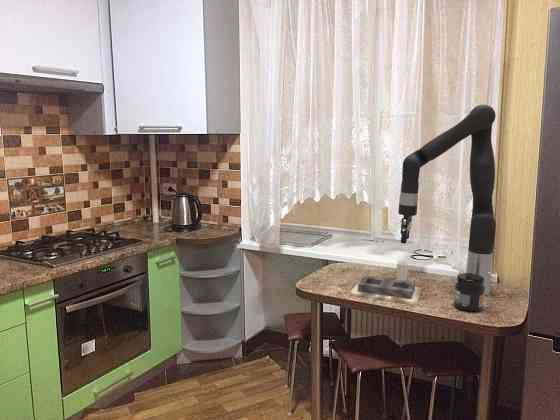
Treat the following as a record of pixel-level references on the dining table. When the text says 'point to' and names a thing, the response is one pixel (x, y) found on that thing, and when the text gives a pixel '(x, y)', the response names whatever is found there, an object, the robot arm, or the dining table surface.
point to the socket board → (387, 290)
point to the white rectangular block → (402, 271)
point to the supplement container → (469, 292)
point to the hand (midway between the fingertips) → (404, 241)
